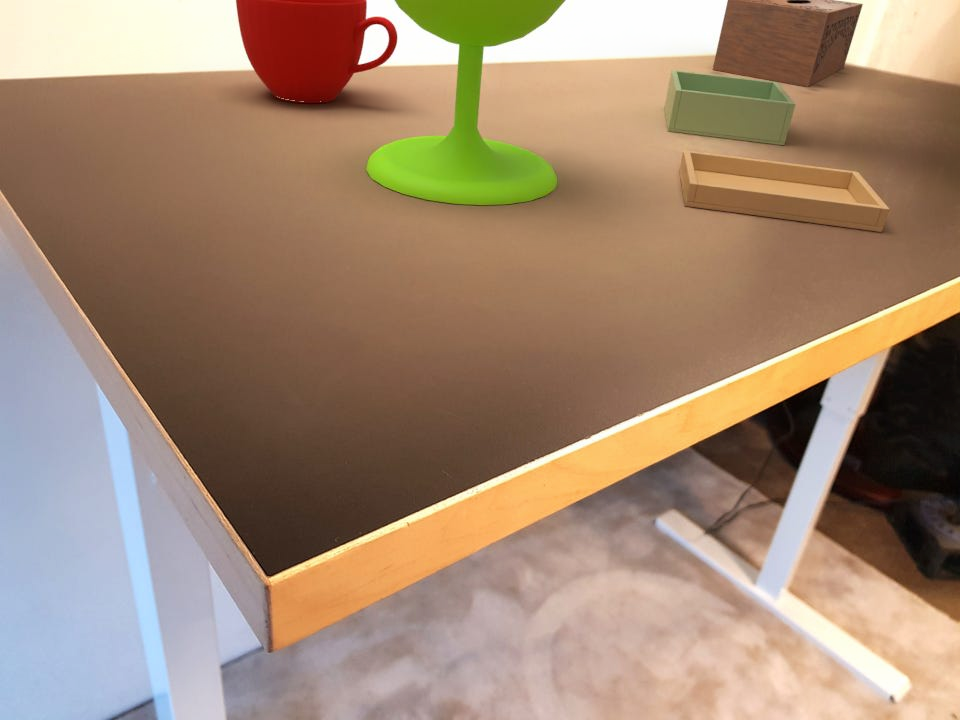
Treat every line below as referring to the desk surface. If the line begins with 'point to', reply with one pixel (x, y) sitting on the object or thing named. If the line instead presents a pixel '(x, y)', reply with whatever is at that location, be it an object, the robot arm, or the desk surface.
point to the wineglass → (468, 114)
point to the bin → (728, 107)
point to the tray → (780, 191)
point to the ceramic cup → (308, 45)
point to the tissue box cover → (786, 39)
